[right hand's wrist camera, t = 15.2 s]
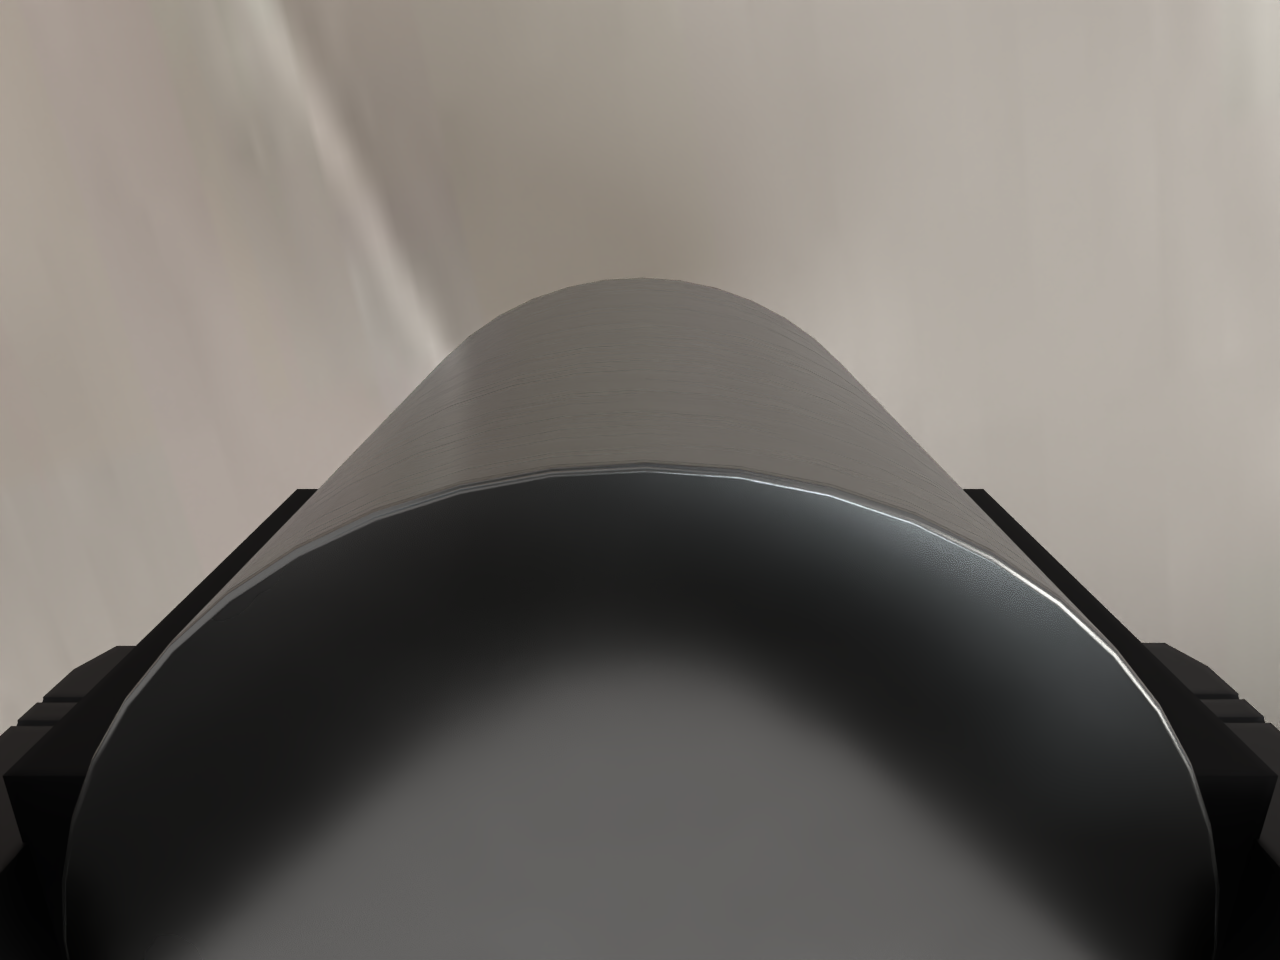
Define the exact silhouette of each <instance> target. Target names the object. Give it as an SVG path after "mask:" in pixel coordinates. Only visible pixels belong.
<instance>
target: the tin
mask: <svg viewBox="0 0 1280 960" xmlns="http://www.w3.org/2000/svg"><path fill="white" fill-rule="evenodd" d="M1219 895H1220V885H1219V878H1218V871H1217V863H1216V856H1215V848H1214V841H1213V834H1212V827H1211V823H1210V820H1209V817H1208V813H1207V810H1206V807H1205V804H1204V801H1203V798H1202V795H1201V792H1200V789H1199V786H1198V783H1197V780H1196V777H1195V774H1194V770H1193V767H1192V764H1191V762H1190V760H1189V758H1188V756H1187V754H1186V753H1185V751H1184V749H1183V747H1182V745H1181V743H1180V741H1179V740H1178V738H1177V736H1176V734H1175V732H1174V730H1173V728H1172V726H1171V725H1170V723H1169V721H1168V719H1167V717H1166V715H1165V713H1164V711H1163V710H1162V708H1161V706H1160V704H1159V703H1158V701H1157V700H1156V699H1155V698H1154V696H1153V695H1152V694H1151V692H1150V691H1149V690H1148V689H1147V687H1146V686H1145V685H1144V683H1143V682H1142V681H1141V680H1140V678H1139V677H1138V676H1137V674H1136V673H1135V672H1134V671H1133V669H1132V668H1131V667H1130V665H1129V664H1128V663H1127V662H1126V660H1125V659H1124V658H1123V656H1122V655H1121V654H1120V653H1119V651H1118V650H1117V649H1116V648H1115V647H1114V645H1113V644H1112V643H1111V642H1110V641H1109V640H1108V639H1107V638H1106V637H1105V636H1104V635H1103V634H1102V633H1101V632H1100V631H1099V630H1098V629H1097V628H1096V627H1095V626H1094V625H1093V624H1092V623H1091V622H1090V621H1089V620H1088V619H1087V618H1086V617H1085V615H1084V614H1083V613H1082V612H1081V611H1080V610H1079V609H1078V608H1077V607H1076V606H1075V605H1074V604H1073V603H1072V602H1071V601H1070V600H1069V599H1068V598H1067V597H1066V596H1065V595H1064V594H1063V593H1062V592H1061V591H1060V590H1059V589H1058V588H1057V587H1056V586H1055V584H1054V583H1053V582H1052V581H1051V580H1050V579H1049V578H1048V577H1047V576H1046V575H1045V574H1044V573H1043V572H1042V571H1041V570H1040V569H1039V568H1038V567H1037V566H1036V565H1035V564H1034V563H1033V562H1032V561H1031V560H1030V559H1029V558H1028V557H1027V556H1026V554H1025V553H1024V552H1023V551H1022V550H1021V549H1020V548H1019V547H1018V546H1017V545H1016V544H1015V543H1014V542H1013V541H1012V540H1011V539H1010V538H1009V537H1008V536H1007V535H1006V534H1005V533H1004V532H1003V531H1002V530H1001V529H1000V528H999V527H998V526H997V524H996V523H995V522H994V521H993V520H992V519H991V518H990V517H989V516H988V515H987V514H986V513H985V512H984V511H983V510H982V509H981V508H980V507H979V506H978V505H977V504H976V503H975V502H974V501H973V500H972V499H971V498H970V497H969V496H968V494H967V493H966V492H965V491H964V490H963V489H962V488H961V487H960V486H959V485H958V484H957V483H956V482H955V481H954V480H953V479H952V478H951V477H950V476H949V475H948V474H947V473H946V472H945V471H944V470H943V469H942V468H941V467H940V466H939V465H938V463H937V462H936V461H935V460H934V459H933V458H932V457H931V456H930V455H929V454H928V453H927V452H926V451H925V450H924V449H923V448H922V447H921V446H920V445H919V444H918V443H917V442H916V441H915V440H914V439H913V438H912V437H911V436H910V435H909V433H908V432H907V431H906V430H905V429H904V428H903V427H902V426H901V425H900V424H899V423H898V422H897V421H896V420H895V419H894V418H893V417H892V416H891V415H890V414H889V413H888V412H887V411H886V410H885V409H884V408H883V407H882V406H881V405H880V403H879V402H878V401H877V400H876V399H875V398H874V397H873V396H872V395H871V394H870V393H869V392H868V391H867V390H866V389H865V388H864V387H863V386H862V385H861V384H860V383H859V382H858V381H857V380H856V379H855V378H854V377H853V376H852V375H851V374H850V372H849V371H848V370H847V369H846V368H845V367H844V366H843V365H842V364H841V363H840V362H839V361H838V360H837V359H836V358H835V357H833V356H832V355H831V354H830V353H829V352H828V351H827V350H826V349H825V348H824V347H823V346H822V345H821V344H820V343H819V342H818V341H816V340H815V339H814V338H813V337H812V336H810V335H809V334H807V333H806V332H804V331H803V330H802V329H800V328H799V327H797V326H796V325H795V324H793V323H792V322H790V321H789V320H787V319H786V318H785V317H783V316H781V315H779V314H777V313H775V312H773V311H771V310H769V309H767V308H765V307H763V306H761V305H759V304H758V303H756V302H754V301H752V300H749V299H746V298H743V297H740V296H738V295H735V294H732V293H729V292H726V291H723V290H721V289H718V288H714V287H709V286H704V285H699V284H695V283H690V282H685V281H680V280H667V279H654V278H629V279H612V280H602V281H597V282H591V283H586V284H581V285H576V286H571V287H567V288H564V289H561V290H558V291H555V292H552V293H549V294H546V295H543V296H540V297H537V298H534V299H532V300H530V301H528V302H526V303H524V304H522V305H520V306H518V307H516V308H514V309H512V310H510V311H508V312H506V313H504V314H502V315H500V316H498V317H497V318H495V319H494V320H492V321H491V322H489V323H488V324H486V325H485V326H483V327H482V328H480V329H479V330H478V331H476V332H475V333H473V334H472V335H470V336H469V337H468V338H467V339H466V340H465V341H463V342H462V343H461V344H460V345H459V346H458V347H457V348H456V349H455V350H454V351H453V352H451V353H450V354H449V355H448V356H447V357H446V358H445V359H444V360H443V361H442V362H441V363H440V364H439V365H438V366H437V367H436V368H435V369H434V370H433V371H432V372H431V373H430V374H429V375H428V376H427V377H426V378H425V379H424V380H423V381H422V382H421V384H420V385H419V386H418V387H417V388H416V389H415V390H414V391H413V392H412V393H411V394H410V395H409V396H408V397H407V398H406V399H405V400H404V401H403V402H402V403H401V404H400V405H399V406H398V407H397V408H396V409H395V410H394V411H393V412H392V414H391V415H390V416H389V417H388V418H387V419H386V420H385V421H384V422H383V423H382V424H381V425H380V426H379V427H378V428H377V429H376V430H375V431H374V432H373V433H372V434H371V435H370V436H369V437H368V438H367V439H366V440H365V441H364V443H363V444H362V445H361V446H360V447H359V448H358V449H357V450H356V451H355V452H354V453H353V454H352V455H351V456H350V457H349V458H348V459H347V460H346V461H345V462H344V463H343V464H342V465H341V466H340V467H339V468H338V469H337V470H336V471H335V473H334V474H333V475H332V476H331V477H330V478H329V479H328V480H327V481H326V482H325V483H324V484H323V485H322V486H321V487H320V488H319V489H318V490H317V491H316V492H315V493H314V494H313V495H312V496H311V497H310V498H309V499H308V500H307V501H306V503H305V504H304V505H303V506H302V507H301V508H300V509H299V510H298V511H297V512H296V513H295V514H294V515H293V516H292V517H291V518H290V519H289V520H288V521H287V522H286V523H285V524H284V525H283V526H282V527H281V528H280V529H279V530H278V531H277V533H276V534H275V535H274V536H273V537H272V538H271V539H270V540H269V541H268V542H267V543H266V544H265V545H264V546H263V547H262V548H261V549H260V550H259V551H258V552H257V553H256V554H255V555H254V556H253V557H252V558H251V559H250V560H249V562H248V563H247V564H246V565H245V566H244V567H243V568H242V569H241V570H240V571H239V572H238V573H237V574H236V575H235V576H234V577H233V578H232V579H231V580H230V581H229V582H228V583H227V584H226V585H225V586H224V587H223V588H222V589H221V590H220V592H219V593H218V594H217V595H216V596H215V597H214V598H213V599H212V600H211V601H210V602H209V603H208V604H207V605H206V606H205V607H204V608H203V609H202V610H201V611H200V612H199V613H198V614H197V615H196V616H195V617H194V618H193V619H192V620H191V622H190V623H189V624H188V625H187V626H186V627H185V628H184V629H183V630H182V631H181V632H180V633H179V634H178V635H177V636H176V637H175V638H174V639H173V640H172V641H171V642H170V643H169V645H168V646H167V647H166V648H165V650H164V651H163V652H162V653H161V655H160V656H159V657H158V658H157V660H156V661H155V662H154V663H153V665H152V666H151V667H150V668H149V670H148V671H147V672H146V673H145V675H144V676H143V677H142V678H141V679H140V681H139V682H138V683H137V684H136V686H135V687H134V688H133V689H132V691H131V692H130V693H129V694H128V696H127V697H126V698H125V700H124V702H123V704H122V705H121V707H120V709H119V711H118V712H117V714H116V716H115V718H114V720H113V721H112V723H111V725H110V727H109V729H108V730H107V732H106V734H105V736H104V737H103V739H102V741H101V743H100V745H99V746H98V748H97V750H96V752H95V754H94V755H93V758H92V760H91V763H90V766H89V769H88V772H87V775H86V778H85V781H84V783H83V786H82V789H81V792H80V795H79V798H78V801H77V804H76V807H75V809H74V812H73V815H72V819H71V824H70V831H69V837H68V844H67V850H66V857H65V863H64V869H63V876H62V915H63V942H64V947H65V952H66V957H67V960H1214V959H1215V954H1216V949H1217V940H1218V918H1219Z"/></svg>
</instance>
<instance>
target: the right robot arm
mask: <svg viewBox="0 0 1280 960" xmlns="http://www.w3.org/2000/svg"><path fill="white" fill-rule="evenodd" d="M317 490H318V489H297V490H296V491H295V492H294V493H293V494H292V495H291V496H290V497H289V498H288V499H287V500H286V501H285V502H284V503H283V504H282V505H280V506H279V507H278V508H277V509H276V510H275V511H274V512H273V513H272V514H271V515H270V516H269V517H268V518H267V519H266V520H265V521H264V522H263V523H262V524H261V525H260V526H259V527H258V528H257V529H256V530H255V531H254V532H253V533H252V534H251V535H250V536H249V537H248V538H247V539H246V540H244V541H243V542H242V543H241V544H240V545H239V546H238V547H237V548H236V549H235V550H234V551H233V552H232V553H231V554H230V555H229V556H228V557H227V558H226V559H225V560H224V561H223V562H222V563H221V564H220V565H219V566H218V567H217V568H216V569H215V570H214V571H213V572H212V573H211V574H210V575H208V576H207V577H206V578H205V579H204V580H203V581H202V582H201V583H200V584H199V585H198V586H197V587H196V588H195V589H194V590H193V591H192V592H191V593H190V594H189V595H188V596H187V597H186V598H185V599H184V600H183V601H182V602H181V603H180V604H179V605H178V606H177V607H176V608H175V609H174V610H172V611H171V612H170V613H169V614H168V615H167V616H166V617H165V618H164V619H163V620H162V621H161V622H160V623H159V624H158V625H157V626H156V627H155V628H154V629H153V630H152V631H151V632H150V633H149V634H148V635H147V636H146V637H145V638H144V639H143V640H142V641H141V642H140V643H139V644H137V645H136V646H116V647H114V648H112V649H110V650H108V651H107V652H105V653H103V654H101V655H99V656H97V657H96V658H94V659H92V660H90V661H88V662H86V663H85V664H83V665H81V666H79V667H77V668H75V669H74V670H73V671H71V672H70V673H69V674H68V675H67V676H66V677H65V678H64V679H63V680H62V681H60V682H59V683H58V684H57V685H56V686H55V687H54V688H53V689H52V690H50V691H49V692H48V693H47V694H46V695H45V696H44V697H43V702H42V703H36V704H35V705H34V706H33V707H32V708H31V709H30V710H28V711H27V712H26V713H25V714H24V715H23V716H22V717H21V718H20V719H18V724H17V726H11V727H10V728H9V729H7V730H6V731H5V732H4V733H3V734H2V735H1V736H0V960H67V957H66V952H65V947H64V942H63V915H62V876H63V869H64V863H65V857H66V850H67V844H68V837H69V831H70V824H71V819H72V815H73V812H74V809H75V807H76V804H77V801H78V798H79V795H80V792H81V789H82V786H83V783H84V781H85V778H86V775H87V772H88V769H89V766H90V763H91V760H92V758H93V755H94V754H95V752H96V750H97V748H98V746H99V745H100V743H101V741H102V739H103V737H104V736H105V734H106V732H107V730H108V729H109V727H110V725H111V723H112V721H113V720H114V718H115V716H116V714H117V712H118V711H119V709H120V707H121V705H122V704H123V702H124V700H125V698H126V697H127V696H128V694H129V693H130V692H131V691H132V689H133V688H134V687H135V686H136V684H137V683H138V682H139V681H140V679H141V678H142V677H143V676H144V675H145V673H146V672H147V671H148V670H149V668H150V667H151V666H152V665H153V663H154V662H155V661H156V660H157V658H158V657H159V656H160V655H161V653H162V652H163V651H164V650H165V648H166V647H167V646H168V645H169V643H170V642H171V641H172V640H173V639H174V638H175V637H176V636H177V635H178V634H179V633H180V632H181V631H182V630H183V629H184V628H185V627H186V626H187V625H188V624H189V623H190V622H191V620H192V619H193V618H194V617H195V616H196V615H197V614H198V613H199V612H200V611H201V610H202V609H203V608H204V607H205V606H206V605H207V604H208V603H209V602H210V601H211V600H212V599H213V598H214V597H215V596H216V595H217V594H218V593H219V592H220V590H221V589H222V588H223V587H224V586H225V585H226V584H227V583H228V582H229V581H230V580H231V579H232V578H233V577H234V576H235V575H236V574H237V573H238V572H239V571H240V570H241V569H242V568H243V567H244V566H245V565H246V564H247V563H248V562H249V560H250V559H251V558H252V557H253V556H254V555H255V554H256V553H257V552H258V551H259V550H260V549H261V548H262V547H263V546H264V545H265V544H266V543H267V542H268V541H269V540H270V539H271V538H272V537H273V536H274V535H275V534H276V533H277V531H278V530H279V529H280V528H281V527H282V526H283V525H284V524H285V523H286V522H287V521H288V520H289V519H290V518H291V517H292V516H293V515H294V514H295V513H296V512H297V511H298V510H299V509H300V508H301V507H302V506H303V505H304V504H305V503H306V501H307V500H308V499H309V498H310V497H311V496H312V495H313V494H314V493H315V492H316V491H317ZM963 490H964V491H965V492H966V493H967V494H968V496H969V497H970V498H971V499H972V500H973V501H974V502H975V503H976V504H977V505H978V506H979V507H980V508H981V509H982V510H983V511H984V512H985V513H986V514H987V515H988V516H989V517H990V518H991V519H992V520H993V521H994V522H995V523H996V524H997V526H998V527H999V528H1000V529H1001V530H1002V531H1003V532H1004V533H1005V534H1006V535H1007V536H1008V537H1009V538H1010V539H1011V540H1012V541H1013V542H1014V543H1015V544H1016V545H1017V546H1018V547H1019V548H1020V549H1021V550H1022V551H1023V552H1024V553H1025V554H1026V556H1027V557H1028V558H1029V559H1030V560H1031V561H1032V562H1033V563H1034V564H1035V565H1036V566H1037V567H1038V568H1039V569H1040V570H1041V571H1042V572H1043V573H1044V574H1045V575H1046V576H1047V577H1048V578H1049V579H1050V580H1051V581H1052V582H1053V583H1054V584H1055V586H1056V587H1057V588H1058V589H1059V590H1060V591H1061V592H1062V593H1063V594H1064V595H1065V596H1066V597H1067V598H1068V599H1069V600H1070V601H1071V602H1072V603H1073V604H1074V605H1075V606H1076V607H1077V608H1078V609H1079V610H1080V611H1081V612H1082V613H1083V614H1084V615H1085V617H1086V618H1087V619H1088V620H1089V621H1090V622H1091V623H1092V624H1093V625H1094V626H1095V627H1096V628H1097V629H1098V630H1099V631H1100V632H1101V633H1102V634H1103V635H1104V636H1105V637H1106V638H1107V639H1108V640H1109V641H1110V642H1111V643H1112V644H1113V645H1114V647H1115V648H1116V649H1117V650H1118V651H1119V653H1120V654H1121V655H1122V656H1123V658H1124V659H1125V660H1126V662H1127V663H1128V664H1129V665H1130V667H1131V668H1132V669H1133V671H1134V672H1135V673H1136V674H1137V676H1138V677H1139V678H1140V680H1141V681H1142V682H1143V683H1144V685H1145V686H1146V687H1147V689H1148V690H1149V691H1150V692H1151V694H1152V695H1153V696H1154V698H1155V699H1156V700H1157V701H1158V703H1159V704H1160V706H1161V708H1162V710H1163V711H1164V713H1165V715H1166V717H1167V719H1168V721H1169V723H1170V725H1171V726H1172V728H1173V730H1174V732H1175V734H1176V736H1177V738H1178V740H1179V741H1180V743H1181V745H1182V747H1183V749H1184V751H1185V753H1186V754H1187V756H1188V758H1189V760H1190V762H1191V764H1192V767H1193V770H1194V774H1195V777H1196V780H1197V783H1198V786H1199V789H1200V792H1201V795H1202V798H1203V801H1204V804H1205V807H1206V810H1207V813H1208V817H1209V820H1210V823H1211V827H1212V834H1213V841H1214V848H1215V856H1216V863H1217V871H1218V878H1219V885H1220V895H1219V918H1218V940H1217V949H1216V954H1215V959H1214V960H1280V731H1279V730H1278V729H1277V728H1276V727H1275V726H1274V725H1272V724H1271V723H1265V721H1264V716H1262V715H1261V714H1260V713H1259V712H1258V711H1257V710H1256V709H1255V708H1254V707H1252V706H1251V705H1250V704H1249V703H1248V702H1247V701H1246V700H1245V699H1239V697H1238V693H1237V692H1236V691H1235V690H1234V689H1232V688H1231V687H1230V686H1229V685H1228V684H1227V683H1226V682H1225V681H1224V680H1222V679H1221V678H1220V677H1219V676H1218V675H1217V674H1216V673H1215V672H1214V671H1212V670H1211V669H1210V668H1209V667H1208V666H1206V665H1204V664H1202V663H1201V662H1199V661H1197V660H1195V659H1193V658H1191V657H1190V656H1188V655H1186V654H1184V653H1182V652H1180V651H1178V650H1177V649H1175V648H1173V647H1171V646H1169V645H1167V644H1165V643H1141V642H1140V641H1139V640H1138V639H1137V638H1136V637H1135V636H1134V635H1133V634H1132V633H1131V632H1130V631H1129V630H1128V629H1127V628H1126V627H1125V626H1124V625H1123V624H1122V623H1121V622H1120V621H1118V620H1117V619H1116V618H1115V617H1114V616H1113V615H1112V614H1111V613H1110V612H1109V611H1108V610H1107V609H1106V608H1105V607H1104V606H1103V605H1102V604H1101V603H1100V602H1099V601H1098V600H1097V599H1096V598H1095V597H1094V596H1093V595H1092V594H1091V593H1090V592H1089V591H1088V590H1087V589H1086V588H1085V587H1083V586H1082V585H1081V584H1080V583H1079V582H1078V581H1077V580H1076V579H1075V578H1074V577H1073V576H1072V575H1071V574H1070V573H1069V572H1068V571H1067V570H1066V569H1065V568H1064V567H1063V566H1062V565H1061V564H1060V563H1059V562H1058V561H1057V560H1056V559H1055V558H1054V557H1053V556H1052V555H1051V554H1050V553H1048V552H1047V551H1046V550H1045V549H1044V548H1043V547H1042V546H1041V545H1040V544H1039V543H1038V542H1037V541H1036V540H1035V539H1034V538H1033V537H1032V536H1031V535H1030V534H1029V533H1028V532H1027V531H1026V530H1025V529H1024V528H1023V527H1022V526H1021V525H1020V524H1019V523H1018V522H1017V521H1016V520H1015V519H1014V518H1012V517H1011V516H1010V515H1009V514H1008V513H1007V512H1006V511H1005V510H1004V509H1003V508H1002V507H1001V506H1000V505H999V504H998V503H997V502H996V501H995V500H994V499H993V498H992V497H991V496H990V495H989V494H988V493H987V492H986V491H985V490H984V489H963Z"/></svg>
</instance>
